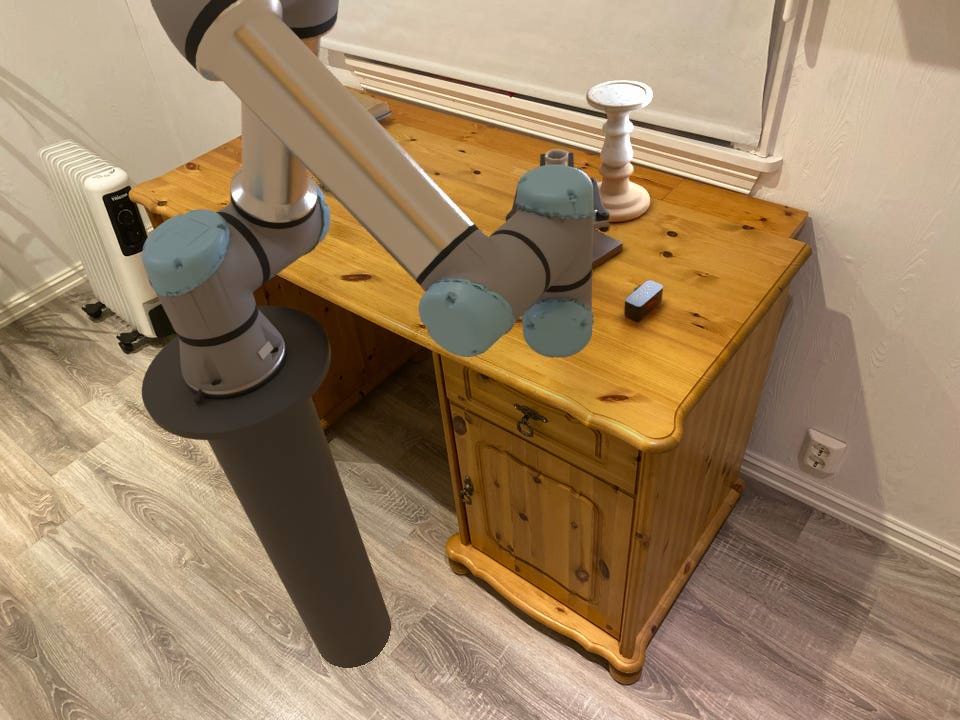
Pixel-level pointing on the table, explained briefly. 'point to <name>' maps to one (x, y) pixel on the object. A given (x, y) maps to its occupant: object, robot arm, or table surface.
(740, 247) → the table surface
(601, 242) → the walnut board
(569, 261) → the robot arm
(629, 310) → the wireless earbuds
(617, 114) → the candle holder
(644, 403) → the table surface
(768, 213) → the table surface
